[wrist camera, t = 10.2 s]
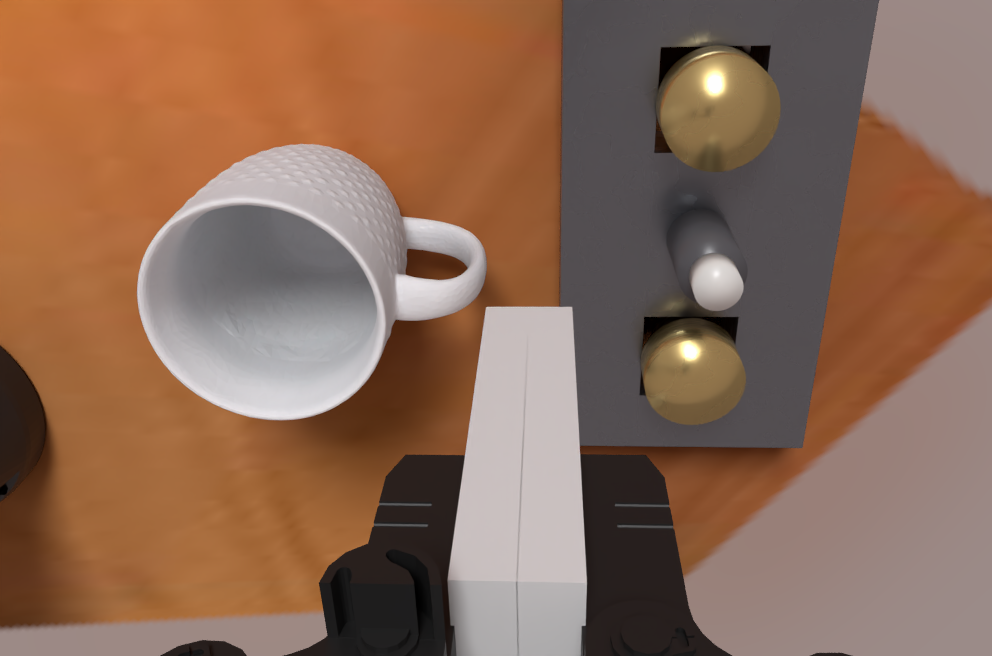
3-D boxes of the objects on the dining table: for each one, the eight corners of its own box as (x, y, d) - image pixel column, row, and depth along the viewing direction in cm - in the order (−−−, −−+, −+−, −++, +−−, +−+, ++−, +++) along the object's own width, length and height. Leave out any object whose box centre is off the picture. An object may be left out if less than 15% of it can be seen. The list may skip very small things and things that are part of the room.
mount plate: (558, 407, 54) (558, 445, 51) (562, -41, 42) (563, -33, 39) (785, 409, 54) (802, 447, 50) (857, -48, 41) (885, -40, 38)
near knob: (645, 136, 45) (658, 172, 40) (651, 32, 43) (665, 56, 38) (746, 134, 45) (772, 171, 40) (757, 30, 43) (787, 54, 37)
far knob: (632, 366, 52) (642, 424, 47) (636, 288, 50) (647, 339, 44) (720, 366, 52) (740, 425, 46) (729, 288, 49) (751, 340, 44)
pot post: (664, 267, 45) (680, 320, 40) (668, 209, 44) (685, 256, 38) (726, 267, 45) (750, 320, 40) (733, 208, 43) (758, 256, 38)
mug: (499, 126, 46) (483, 213, 35) (488, 310, 51) (471, 438, 40) (222, 107, 47) (115, 187, 35) (239, 291, 52) (151, 413, 40)
